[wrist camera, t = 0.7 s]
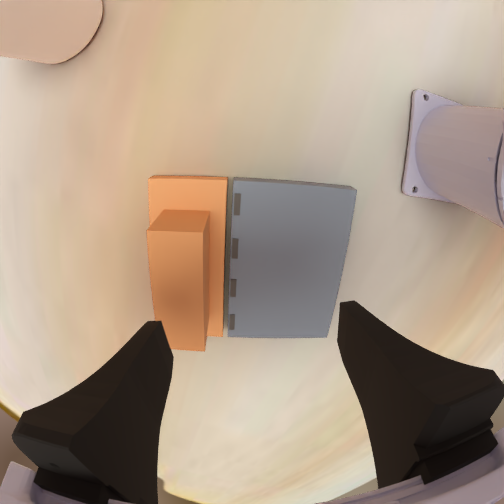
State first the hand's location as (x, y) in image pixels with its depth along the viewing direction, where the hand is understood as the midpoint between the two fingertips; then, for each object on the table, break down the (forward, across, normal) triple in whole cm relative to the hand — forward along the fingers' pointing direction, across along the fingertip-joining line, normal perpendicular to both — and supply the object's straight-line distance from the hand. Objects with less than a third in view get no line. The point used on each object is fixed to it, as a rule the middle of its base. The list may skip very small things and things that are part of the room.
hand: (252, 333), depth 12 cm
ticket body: (+10, -3, +2) cm, 11 cm away
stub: (+10, +4, +1) cm, 11 cm away
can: (+10, +11, -18) cm, 24 cm away
